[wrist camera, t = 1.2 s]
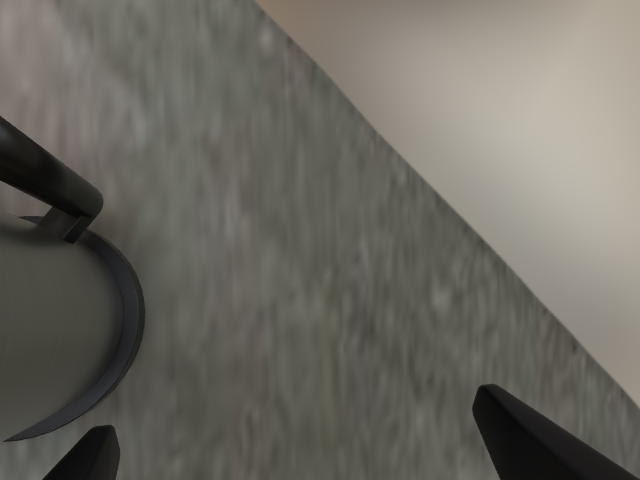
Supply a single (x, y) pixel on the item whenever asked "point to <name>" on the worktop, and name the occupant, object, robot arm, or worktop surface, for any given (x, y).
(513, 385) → the worktop surface
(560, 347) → the worktop surface
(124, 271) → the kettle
